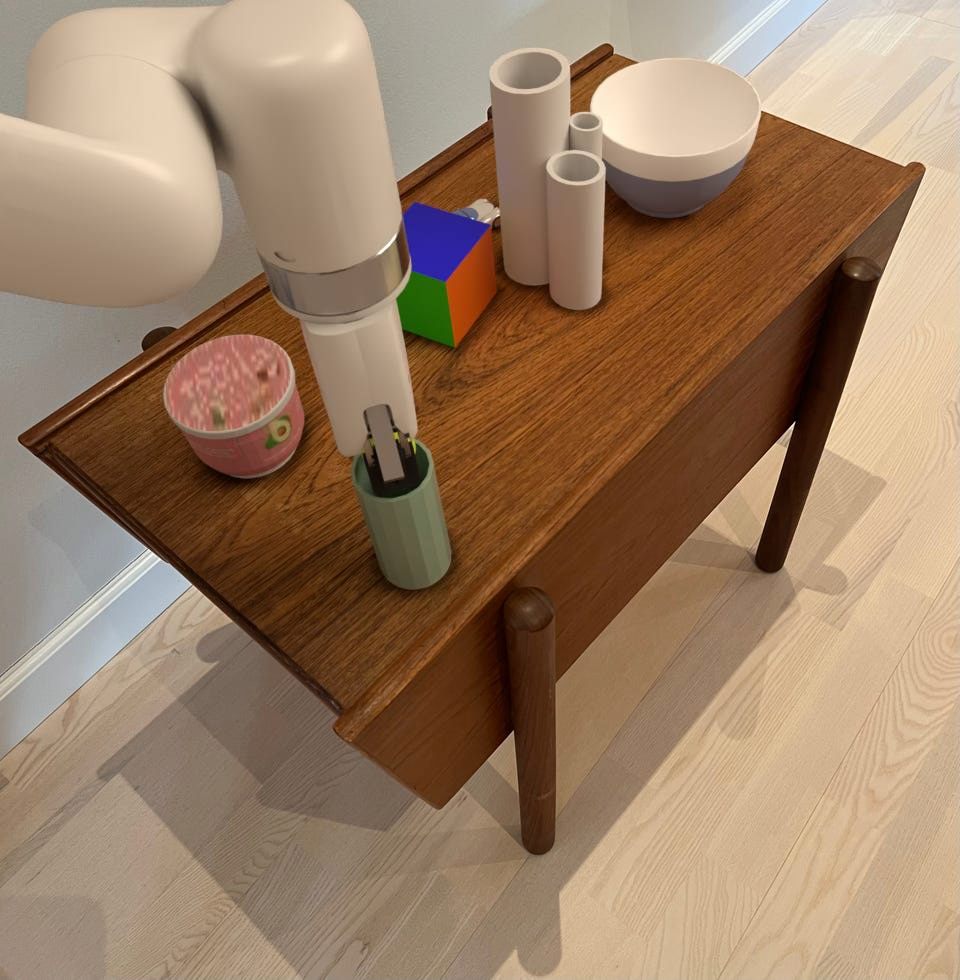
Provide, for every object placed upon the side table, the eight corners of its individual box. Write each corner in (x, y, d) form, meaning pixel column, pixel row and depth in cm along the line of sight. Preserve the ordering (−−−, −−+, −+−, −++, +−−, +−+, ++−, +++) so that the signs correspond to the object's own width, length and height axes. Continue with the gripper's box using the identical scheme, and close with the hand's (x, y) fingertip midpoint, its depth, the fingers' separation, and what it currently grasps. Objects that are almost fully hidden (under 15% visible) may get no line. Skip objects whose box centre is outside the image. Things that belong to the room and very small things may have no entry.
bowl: (647, 124, 103) (653, 40, 95) (776, 176, 96) (794, 90, 88) (556, 201, 97) (555, 118, 89) (688, 263, 90) (699, 179, 82)
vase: (489, 268, 92) (471, 78, 75) (535, 228, 95) (527, 36, 78) (582, 317, 87) (585, 125, 71) (628, 273, 90) (640, 79, 74)
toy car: (532, 209, 96) (531, 188, 94) (437, 262, 93) (433, 242, 91) (511, 192, 98) (509, 171, 96) (416, 244, 95) (413, 223, 93)
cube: (425, 268, 93) (414, 201, 86) (496, 292, 90) (491, 224, 83) (382, 321, 89) (367, 256, 82) (455, 347, 86) (445, 282, 80)
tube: (387, 597, 72) (358, 510, 62) (374, 538, 75) (344, 446, 65) (458, 579, 72) (441, 489, 62) (442, 520, 75) (423, 426, 66)
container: (198, 505, 78) (165, 446, 72) (191, 411, 84) (159, 349, 78) (323, 475, 79) (300, 414, 72) (307, 385, 85) (285, 321, 78)
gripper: (246, 174, 53) (319, 389, 68) (283, 383, 43) (358, 580, 58) (377, 144, 53) (420, 365, 68) (441, 345, 44) (475, 549, 59)
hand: (391, 462), depth 63 cm, fingers closed on ball, 3 cm apart
